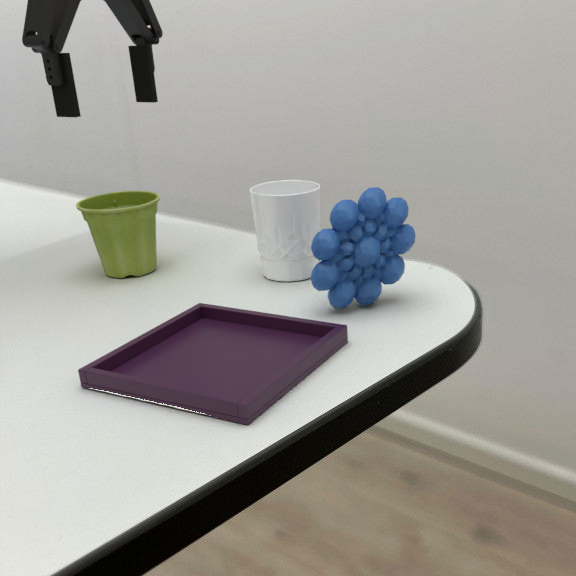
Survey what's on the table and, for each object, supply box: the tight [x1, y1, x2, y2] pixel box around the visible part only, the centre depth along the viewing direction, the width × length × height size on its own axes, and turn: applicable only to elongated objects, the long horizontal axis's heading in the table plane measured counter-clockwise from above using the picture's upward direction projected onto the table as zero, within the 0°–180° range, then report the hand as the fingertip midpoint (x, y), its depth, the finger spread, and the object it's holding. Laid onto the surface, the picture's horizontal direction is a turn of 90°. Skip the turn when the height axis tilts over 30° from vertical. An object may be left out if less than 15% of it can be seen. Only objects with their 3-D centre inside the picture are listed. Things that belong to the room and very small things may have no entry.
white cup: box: [249, 179, 322, 283], centre depth 87 cm, size 8×8×10 cm
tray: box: [77, 302, 349, 426], centre depth 67 cm, size 17×17×2 cm
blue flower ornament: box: [309, 186, 416, 309], centre depth 77 cm, size 12×7×12 cm, turn 116°
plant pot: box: [75, 190, 161, 279], centre depth 91 cm, size 9×9×9 cm
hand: (110, 109), depth 90 cm, fingers open, 13 cm apart
